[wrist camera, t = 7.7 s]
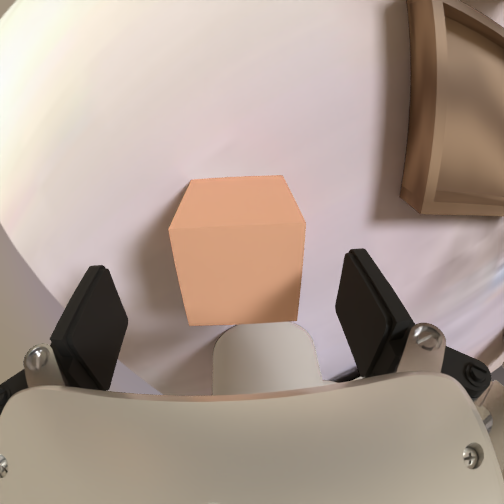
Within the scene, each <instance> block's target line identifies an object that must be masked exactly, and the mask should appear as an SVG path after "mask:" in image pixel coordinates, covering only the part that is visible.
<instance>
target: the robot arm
mask: <svg viewBox="0 0 504 504" xmlns="http://www.w3.org/2000/svg"><path fill="white" fill-rule="evenodd" d="M335 309H336V313H337V316H338V318H339V321H340V323H341V326H342V328H343V331H344V334H345V336H346V339H347V341H348V344H349V346H350V349H351V352H352V354H353V357H354V360H355V362H356V365H357V368H358V370H359V373H360V376H361V377H365V378H364V379H359V380H353V381H348V382H342V383H336V384H330V385H323V386H317V387H310V388H303V389H295V390H286V391H277V392H266V393H253V394H238V395H211V396H176V395H149V394H134V393H122V392H111V391H106V390H109V388H110V385H111V381H112V377H113V373H114V370H115V366H116V362H117V359H118V355H119V352H120V348H121V345H122V342H123V338H124V335H125V332H126V329H127V326H128V318H127V315H126V312H125V310H124V308H123V305H122V303H121V300H120V298H119V295H118V293H117V290H116V288H115V285H114V282H113V280H112V277H111V274H110V271H109V270H108V269H106V268H105V267H104V266H103V265H98V266H90V267H89V268H88V270H87V272H86V273H85V275H84V277H83V278H82V280H81V282H80V283H79V285H78V287H77V288H76V290H75V292H74V294H73V295H72V297H71V299H70V301H69V303H68V304H67V306H66V308H65V310H64V312H63V314H62V316H61V318H60V320H59V321H58V323H57V325H56V327H55V330H54V331H53V333H52V335H51V337H50V340H51V342H52V343H51V345H50V346H49V345H48V344H38V345H35V346H34V347H32V348H31V349H30V350H29V351H28V352H27V354H26V355H25V357H24V361H23V363H24V364H23V365H24V369H23V370H22V371H20V372H19V373H17V374H16V375H14V376H13V377H11V378H10V379H8V380H7V381H6V382H4V383H2V384H1V385H0V504H504V481H503V477H502V471H503V469H504V386H503V385H501V384H500V383H499V382H498V381H497V380H495V381H494V382H492V381H491V375H490V371H489V369H488V367H487V366H486V365H485V364H484V363H482V362H481V361H479V360H477V359H474V358H472V357H470V356H468V355H465V354H463V353H461V352H458V351H456V350H454V349H452V348H449V347H447V346H446V339H445V336H444V334H443V333H442V331H441V330H440V329H438V328H437V327H436V326H434V325H432V324H429V323H419V324H416V325H415V323H414V322H413V320H412V319H411V317H410V315H409V314H408V312H407V310H406V309H405V307H404V306H403V304H402V302H401V301H400V299H399V298H398V296H397V295H396V293H395V292H394V290H393V288H392V287H391V285H390V284H389V282H388V281H387V280H386V279H385V277H384V276H383V274H382V273H381V271H380V270H379V268H378V267H377V265H376V264H375V262H374V261H373V260H372V258H371V257H370V255H369V254H368V252H367V251H366V250H365V249H351V250H350V251H349V253H346V254H345V257H344V263H343V268H342V274H341V279H340V284H339V290H338V295H337V299H336V305H335ZM503 341H504V338H503ZM502 365H503V368H504V362H503V364H502Z"/></svg>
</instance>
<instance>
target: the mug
mask: <svg viewBox="0 0 504 504" xmlns="http://www.w3.org/2000/svg"><path fill="white" fill-rule="evenodd" d="M336 383H337V382H333V381H327V380H322V376H321V372H320V368H319V364H318V359H317V354H316V350H315V346H314V343H313V340H312V338H311V336H310V335H309V333H308V332H307V331H306V330H305V329H303V328H302V327H301V326H299V325H297V324H295V323H292V322H289V321H288V322H274V323H257V324H239V325H236V326H234V327H233V328H231V329H229V330H228V331H226V332H225V333H224V334H223V335H222V336H221V337H220V338H219V339H218V341H217V343H216V345H215V347H214V351H213V379H212V395H238V394H253V393H266V392H277V391H286V390H295V389H303V388H310V387H317V386H323V385H330V384H336Z"/></svg>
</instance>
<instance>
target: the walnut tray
mask: <svg viewBox="0 0 504 504" xmlns="http://www.w3.org/2000/svg"><path fill="white" fill-rule="evenodd" d="M407 9H408V19H409V32H410V52H411V92H410V114H409V128H408V139H407V149H406V157H405V165H404V173H403V179H402V186H401V192H400V198H402V199H403V200H404V201H405V202H407V203H408V204H409V205H410V206H411V207H413V208H414V209H415V210H416V211H417V212H418V213H420V214H435V215H481V216H504V28H503V27H502V26H500V25H499V24H497V23H496V22H495V21H493V20H492V19H490V18H489V17H487V16H485V15H484V14H482V13H481V12H479V11H477V10H476V9H474V8H472V7H471V6H469V5H467V4H465V3H464V2H462V1H460V0H407Z"/></svg>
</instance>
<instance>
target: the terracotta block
mask: <svg viewBox="0 0 504 504" xmlns="http://www.w3.org/2000/svg"><path fill="white" fill-rule="evenodd" d="M305 229H306V222H305V220H304V218H303V216H302V214H301V212H300V210H299V208H298V206H297V203H296V201H295V199H294V197H293V195H292V193H291V191H290V189H289V187H288V185H287V183H286V181H285V179H284V177H283V176H282V175H276V176H245V177H225V178H209V179H195V180H191V182H190V184H189V186H188V188H187V190H186V192H185V194H184V196H183V199H182V201H181V203H180V205H179V207H178V209H177V211H176V214H175V216H174V218H173V220H172V222H171V225H170V227H169V229H168V231H169V236H170V241H171V247H172V252H173V257H174V262H175V266H176V271H177V276H178V280H179V285H180V289H181V294H182V298H183V302H184V307H185V311H186V315H187V319H188V323H189V326H203V325H236V324H257V323H274V322H288V321H297V316H298V307H299V298H300V288H301V277H302V266H303V255H304V242H305Z"/></svg>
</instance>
